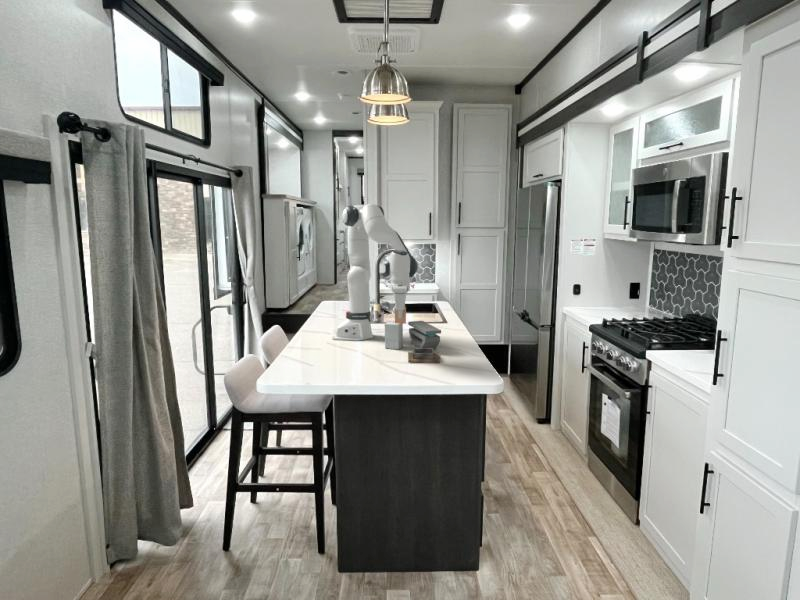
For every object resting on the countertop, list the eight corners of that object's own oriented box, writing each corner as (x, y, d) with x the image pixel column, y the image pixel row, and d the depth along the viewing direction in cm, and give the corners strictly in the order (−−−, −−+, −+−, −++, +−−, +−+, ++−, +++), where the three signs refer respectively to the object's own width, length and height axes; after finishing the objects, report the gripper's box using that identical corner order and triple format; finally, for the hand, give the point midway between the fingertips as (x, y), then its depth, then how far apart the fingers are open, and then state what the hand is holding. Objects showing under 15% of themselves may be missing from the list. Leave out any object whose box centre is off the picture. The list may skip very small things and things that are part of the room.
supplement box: (403, 346, 249) (403, 321, 248) (398, 349, 243) (398, 324, 241) (389, 345, 252) (389, 320, 250) (384, 348, 245) (384, 323, 243)
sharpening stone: (440, 352, 238) (441, 330, 236) (425, 353, 235) (425, 331, 233) (422, 340, 261) (422, 320, 259) (408, 342, 259) (408, 321, 257)
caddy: (408, 362, 219) (408, 354, 219) (408, 354, 233) (408, 347, 233) (439, 362, 219) (440, 354, 219) (437, 354, 233) (437, 347, 233)
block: (394, 323, 223) (394, 308, 222) (395, 321, 228) (395, 306, 227) (405, 323, 223) (405, 308, 222) (405, 321, 228) (405, 306, 227)
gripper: (393, 283, 234) (394, 312, 236) (392, 289, 213) (392, 321, 215) (407, 283, 233) (407, 312, 236) (407, 289, 213) (407, 321, 215)
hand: (400, 316), depth 225 cm, fingers closed on block, 5 cm apart
